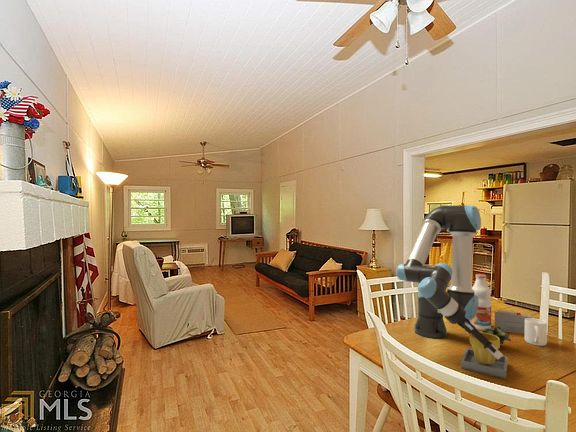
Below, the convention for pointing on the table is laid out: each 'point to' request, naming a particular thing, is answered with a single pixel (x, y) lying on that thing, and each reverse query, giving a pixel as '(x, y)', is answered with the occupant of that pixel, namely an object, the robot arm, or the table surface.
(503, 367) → the tray
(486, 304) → the fruit juice
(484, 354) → the plant pot
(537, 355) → the table surface
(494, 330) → the green leafy plant
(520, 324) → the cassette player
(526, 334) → the mug
